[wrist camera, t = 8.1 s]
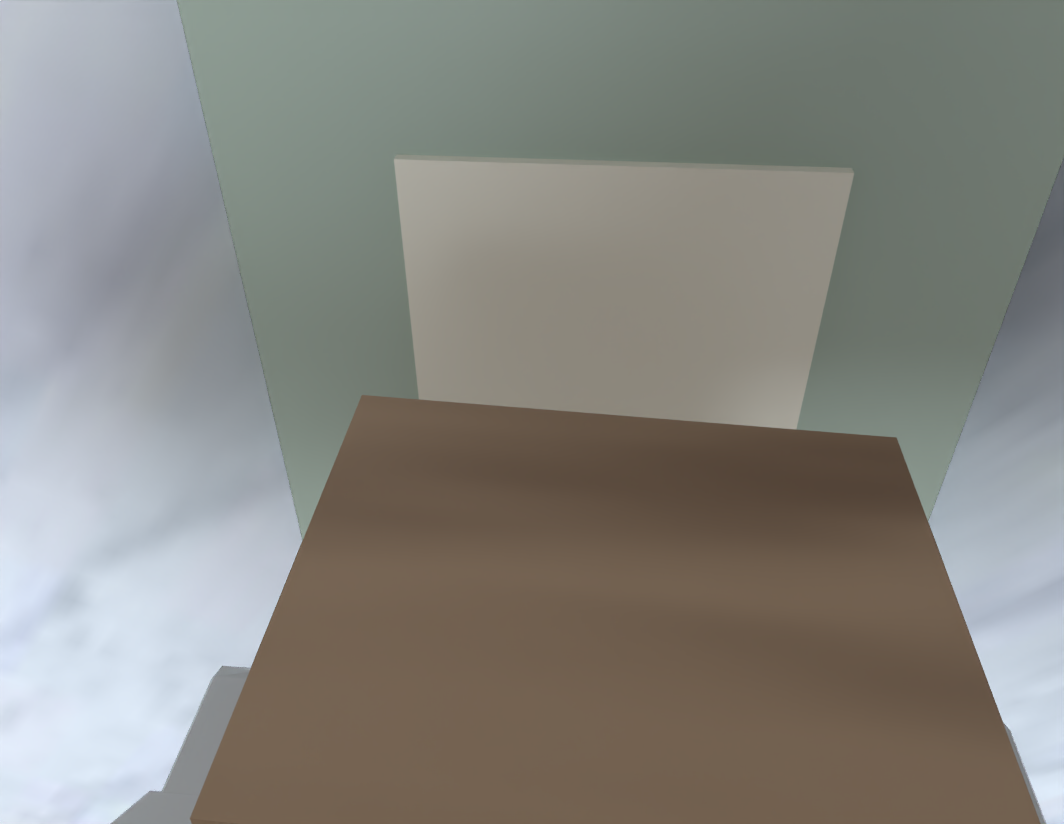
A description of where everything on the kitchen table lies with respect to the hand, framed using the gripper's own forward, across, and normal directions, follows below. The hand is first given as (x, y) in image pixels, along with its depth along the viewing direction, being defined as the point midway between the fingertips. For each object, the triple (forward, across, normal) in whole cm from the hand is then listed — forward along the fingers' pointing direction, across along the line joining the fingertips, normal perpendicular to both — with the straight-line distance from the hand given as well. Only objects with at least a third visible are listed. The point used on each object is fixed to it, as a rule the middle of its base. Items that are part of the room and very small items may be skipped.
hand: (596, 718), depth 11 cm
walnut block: (+2, 0, 0) cm, 2 cm away
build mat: (+8, 0, 0) cm, 8 cm away
